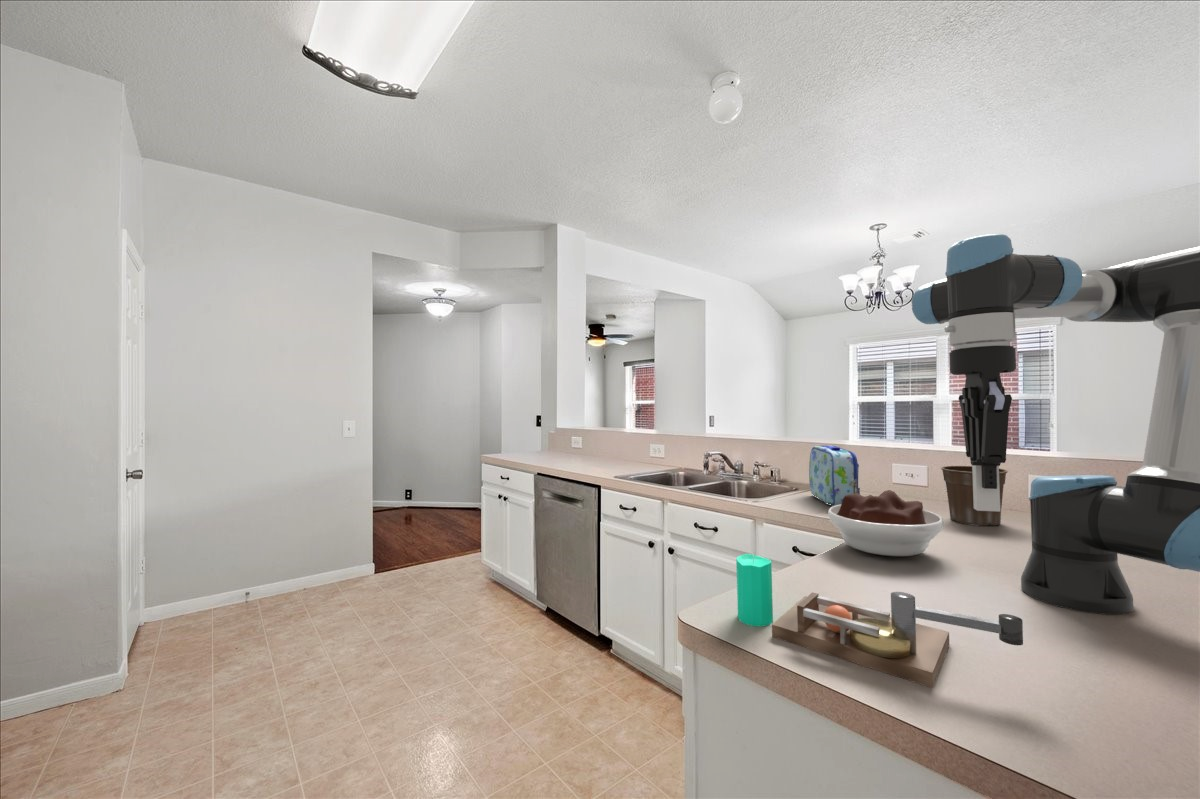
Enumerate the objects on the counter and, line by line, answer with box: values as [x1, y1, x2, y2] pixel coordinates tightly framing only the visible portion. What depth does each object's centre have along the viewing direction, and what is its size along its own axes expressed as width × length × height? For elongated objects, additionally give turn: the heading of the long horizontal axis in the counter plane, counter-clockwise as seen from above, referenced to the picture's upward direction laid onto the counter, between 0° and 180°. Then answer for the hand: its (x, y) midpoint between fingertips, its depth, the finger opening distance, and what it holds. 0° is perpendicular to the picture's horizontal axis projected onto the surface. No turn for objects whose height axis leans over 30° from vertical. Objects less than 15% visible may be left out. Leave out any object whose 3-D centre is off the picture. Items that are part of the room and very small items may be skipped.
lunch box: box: [808, 444, 861, 506], centre depth 180 cm, size 26×11×21 cm, turn 174°
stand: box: [771, 591, 950, 689], centre depth 78 cm, size 22×15×6 cm
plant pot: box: [940, 465, 1009, 527], centre depth 148 cm, size 16×16×16 cm
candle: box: [735, 551, 774, 627], centre depth 86 cm, size 6×6×12 cm
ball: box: [825, 605, 852, 633], centre depth 77 cm, size 4×4×4 cm
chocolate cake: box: [827, 489, 945, 557], centre depth 122 cm, size 25×25×15 cm
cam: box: [850, 591, 1024, 658], centre depth 68 cm, size 10×19×8 cm, turn 36°
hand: (986, 509), depth 70 cm, fingers closed
